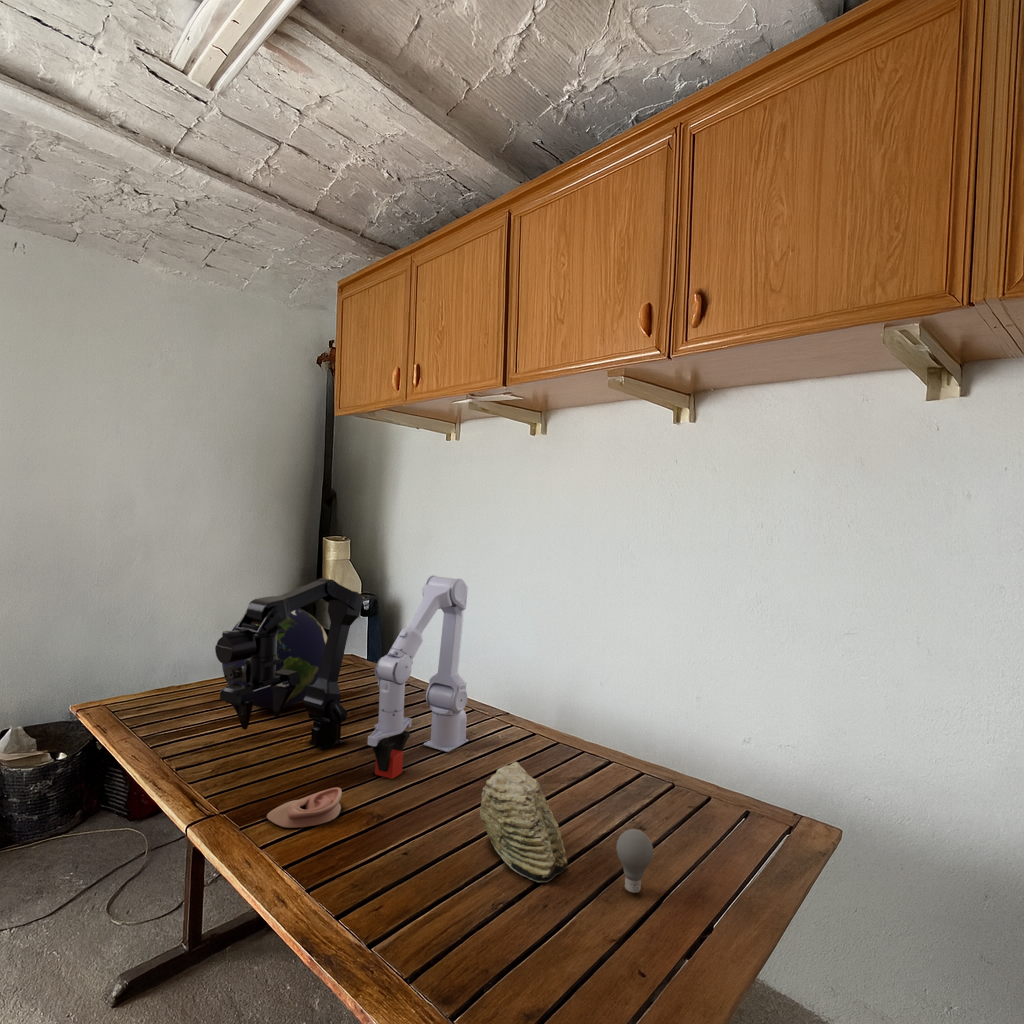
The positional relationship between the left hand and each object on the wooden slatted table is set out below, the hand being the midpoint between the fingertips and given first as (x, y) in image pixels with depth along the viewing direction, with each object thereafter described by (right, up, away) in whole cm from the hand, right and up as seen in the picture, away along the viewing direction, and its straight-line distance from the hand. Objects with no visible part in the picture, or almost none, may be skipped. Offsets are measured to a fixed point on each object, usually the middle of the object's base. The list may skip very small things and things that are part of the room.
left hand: (260, 722), depth 145 cm
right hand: (+29, -11, +2) cm, 31 cm away
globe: (-13, -10, +44) cm, 46 cm away
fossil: (+59, -14, -30) cm, 67 cm away
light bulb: (+77, -15, -39) cm, 88 cm away
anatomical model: (+16, -12, -19) cm, 28 cm away
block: (+29, -12, +2) cm, 31 cm away
